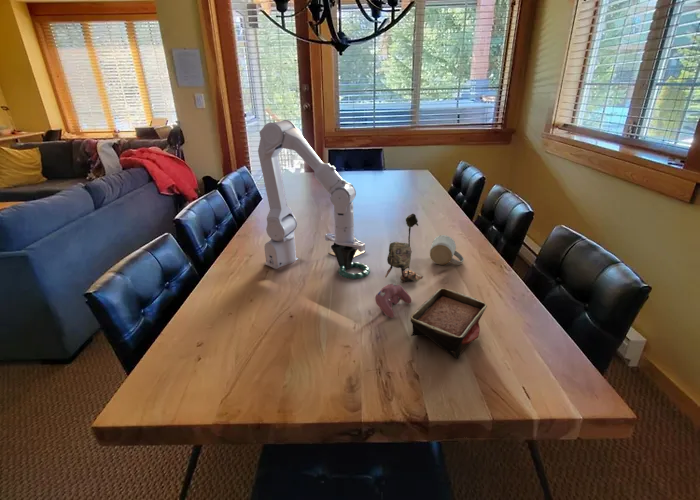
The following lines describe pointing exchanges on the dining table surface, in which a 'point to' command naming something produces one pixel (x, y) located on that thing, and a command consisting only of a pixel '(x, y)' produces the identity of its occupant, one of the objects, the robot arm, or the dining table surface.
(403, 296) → the video game controller
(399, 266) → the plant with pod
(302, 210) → the dining table surface
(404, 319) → the dining table surface
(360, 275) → the ring
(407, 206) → the dining table surface
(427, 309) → the baking dish
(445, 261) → the ceramic mug
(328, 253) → the brown peg stand
